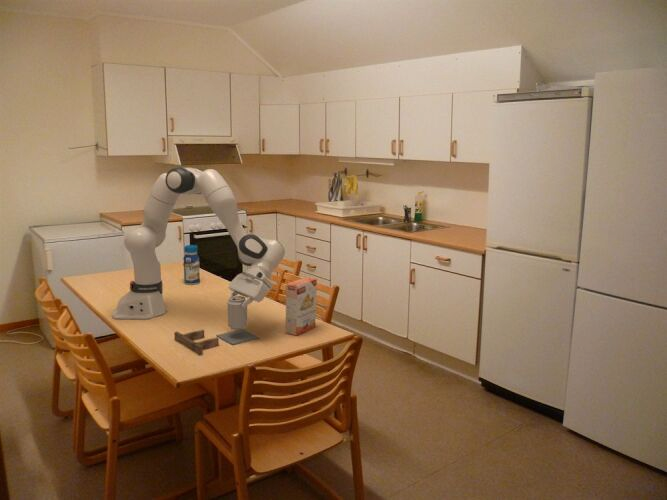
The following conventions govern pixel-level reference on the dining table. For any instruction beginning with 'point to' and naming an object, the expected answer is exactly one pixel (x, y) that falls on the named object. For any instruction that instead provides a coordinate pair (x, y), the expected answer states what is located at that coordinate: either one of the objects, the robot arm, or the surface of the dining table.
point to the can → (237, 313)
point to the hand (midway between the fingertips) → (236, 304)
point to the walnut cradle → (196, 346)
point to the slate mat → (237, 336)
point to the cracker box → (300, 305)
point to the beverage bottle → (191, 265)
